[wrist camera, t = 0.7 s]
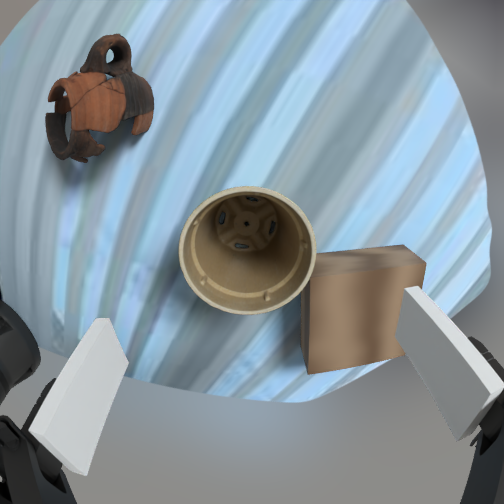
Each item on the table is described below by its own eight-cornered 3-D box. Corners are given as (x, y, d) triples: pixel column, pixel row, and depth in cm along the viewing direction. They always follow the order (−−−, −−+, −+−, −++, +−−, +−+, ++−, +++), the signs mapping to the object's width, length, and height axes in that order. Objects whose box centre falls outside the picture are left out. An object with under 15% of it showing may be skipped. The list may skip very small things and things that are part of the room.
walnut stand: (300, 345, 33) (307, 374, 29) (299, 255, 29) (310, 277, 24) (389, 330, 33) (405, 355, 28) (403, 244, 29) (426, 262, 24)
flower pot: (186, 185, 26) (160, 206, 18) (285, 162, 25) (305, 173, 17) (211, 274, 29) (200, 324, 21) (302, 255, 29) (323, 300, 21)
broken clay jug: (152, 161, 25) (78, 184, 19) (101, 136, 28) (39, 152, 21) (178, 39, 18) (96, 29, 12) (118, 36, 21) (50, 36, 14)
